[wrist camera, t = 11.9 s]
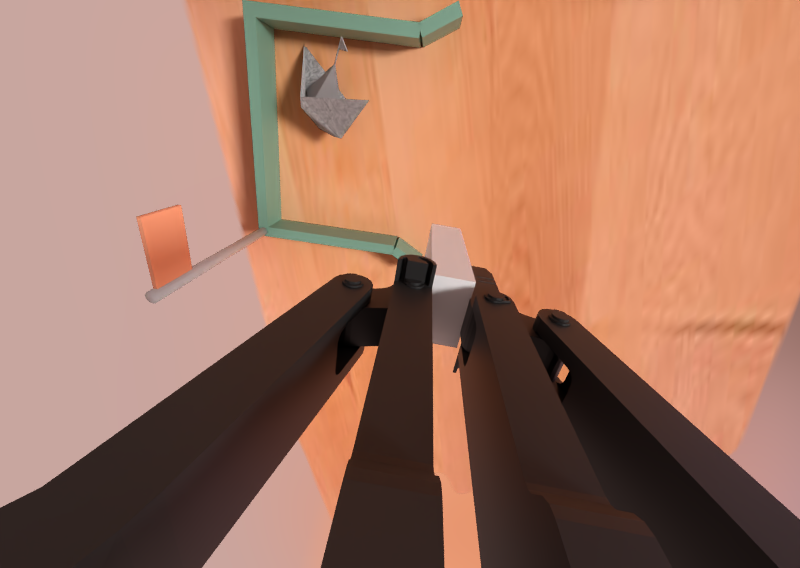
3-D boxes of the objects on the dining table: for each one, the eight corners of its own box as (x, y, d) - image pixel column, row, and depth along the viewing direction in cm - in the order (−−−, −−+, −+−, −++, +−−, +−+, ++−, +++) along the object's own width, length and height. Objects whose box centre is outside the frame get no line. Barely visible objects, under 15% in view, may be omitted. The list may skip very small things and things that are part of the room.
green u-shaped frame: (461, 15, 33) (504, -158, 13) (421, 261, 45) (412, 365, 25) (261, -10, 33) (13, -213, 14) (273, 239, 45) (151, 324, 26)
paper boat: (266, 98, 37) (278, -1, 31) (314, 104, 41) (332, 18, 35) (326, 159, 33) (353, 59, 27) (371, 158, 37) (403, 72, 31)
